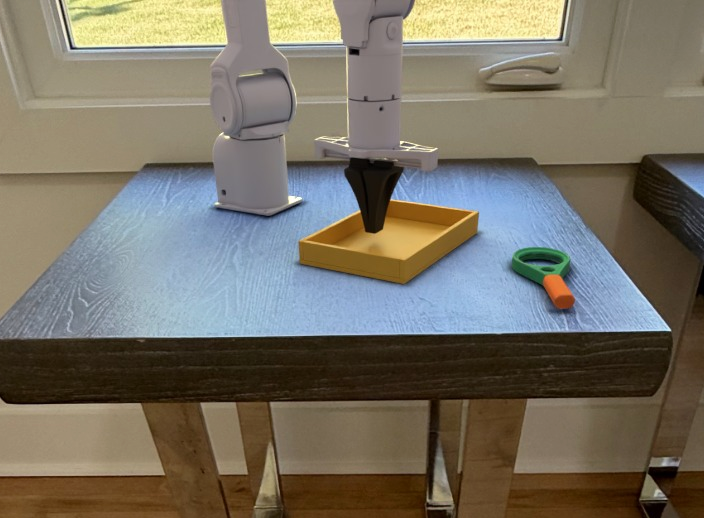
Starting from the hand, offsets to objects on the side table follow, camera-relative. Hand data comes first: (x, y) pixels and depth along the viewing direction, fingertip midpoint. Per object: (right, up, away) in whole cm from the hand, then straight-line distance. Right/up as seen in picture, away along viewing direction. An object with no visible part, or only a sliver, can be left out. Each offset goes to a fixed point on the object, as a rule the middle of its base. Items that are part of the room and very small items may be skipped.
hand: (374, 230), depth 82 cm
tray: (+2, -2, 0) cm, 3 cm away
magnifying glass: (+18, -9, -9) cm, 22 cm away
